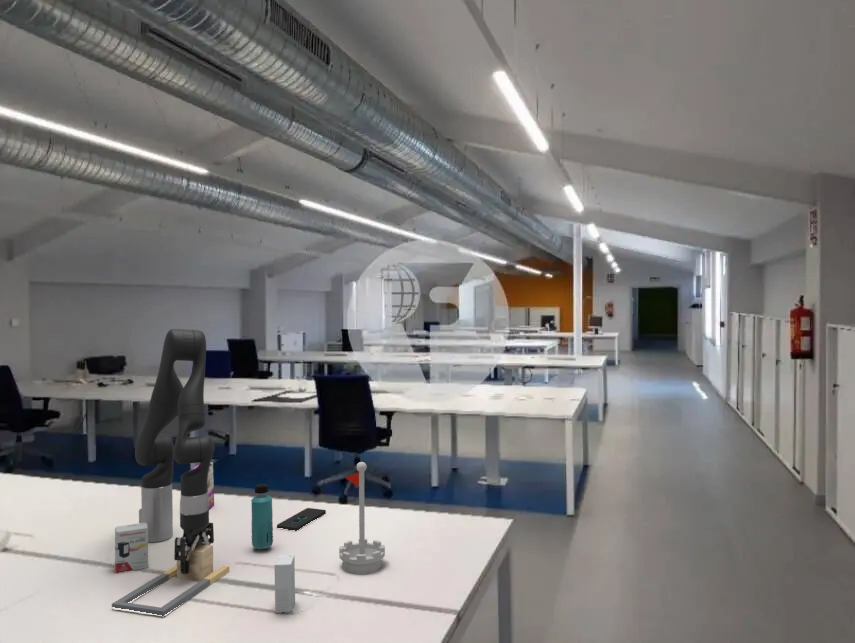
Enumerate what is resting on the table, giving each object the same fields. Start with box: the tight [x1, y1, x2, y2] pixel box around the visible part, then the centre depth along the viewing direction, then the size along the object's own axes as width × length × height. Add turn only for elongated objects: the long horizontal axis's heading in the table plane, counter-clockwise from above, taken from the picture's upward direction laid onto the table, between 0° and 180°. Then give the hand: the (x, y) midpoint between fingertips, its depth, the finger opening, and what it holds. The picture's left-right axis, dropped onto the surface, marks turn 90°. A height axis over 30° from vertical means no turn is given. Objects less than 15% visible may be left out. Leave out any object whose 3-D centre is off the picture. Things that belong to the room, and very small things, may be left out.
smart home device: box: [276, 507, 327, 532], centre depth 221 cm, size 8×2×20 cm
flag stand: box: [338, 461, 386, 574], centre depth 182 cm, size 13×13×30 cm
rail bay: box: [111, 564, 230, 616], centre depth 167 cm, size 15×28×2 cm, turn 164°
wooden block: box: [176, 544, 214, 582], centre depth 175 cm, size 8×5×8 cm, turn 74°
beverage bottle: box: [250, 483, 274, 549], centre depth 194 cm, size 6×7×20 cm
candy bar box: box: [190, 462, 215, 510], centre depth 232 cm, size 11×5×16 cm, turn 179°
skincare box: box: [274, 554, 296, 614], centre depth 157 cm, size 6×4×12 cm
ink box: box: [114, 522, 149, 574], centre depth 181 cm, size 9×5×12 cm, turn 118°
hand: (195, 567), depth 175 cm, fingers open, 8 cm apart
